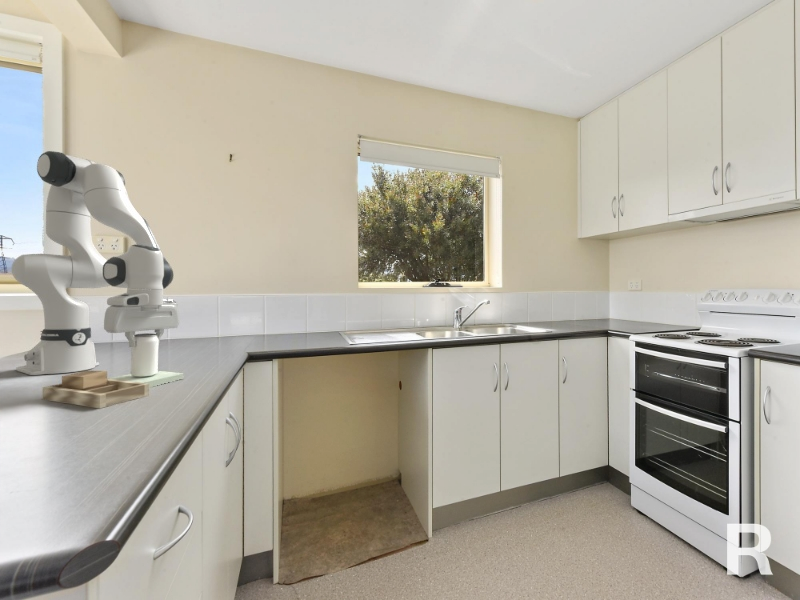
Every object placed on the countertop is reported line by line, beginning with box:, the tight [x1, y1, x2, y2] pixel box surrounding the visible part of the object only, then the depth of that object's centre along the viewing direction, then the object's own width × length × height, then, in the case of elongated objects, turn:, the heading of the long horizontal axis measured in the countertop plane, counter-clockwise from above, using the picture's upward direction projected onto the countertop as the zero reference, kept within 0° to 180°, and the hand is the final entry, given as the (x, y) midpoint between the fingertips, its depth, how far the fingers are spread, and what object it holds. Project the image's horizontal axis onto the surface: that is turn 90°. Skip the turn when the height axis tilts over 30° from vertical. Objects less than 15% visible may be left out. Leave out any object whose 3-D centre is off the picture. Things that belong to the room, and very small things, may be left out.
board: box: [107, 370, 185, 388], centre depth 103 cm, size 14×14×2 cm
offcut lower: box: [60, 383, 108, 391], centre depth 89 cm, size 6×7×3 cm
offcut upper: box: [61, 370, 108, 389], centre depth 89 cm, size 6×7×3 cm
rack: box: [41, 379, 150, 409], centre depth 88 cm, size 20×11×3 cm, turn 73°
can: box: [130, 332, 159, 377], centre depth 103 cm, size 6×6×12 cm
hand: (144, 345), depth 103 cm, fingers closed on can, 5 cm apart
